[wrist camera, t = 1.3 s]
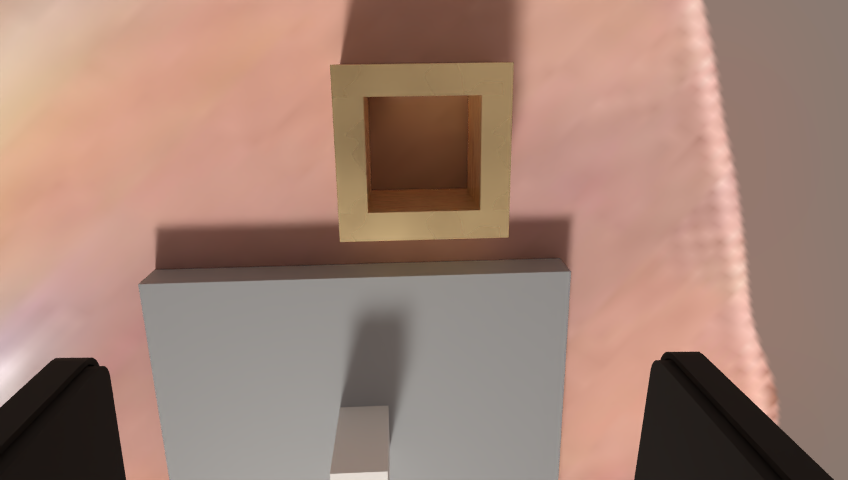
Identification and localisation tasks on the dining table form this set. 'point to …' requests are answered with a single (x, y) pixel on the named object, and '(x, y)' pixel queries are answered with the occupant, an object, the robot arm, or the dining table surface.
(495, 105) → the collar
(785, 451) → the robot arm
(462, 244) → the dining table surface
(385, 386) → the post stand
